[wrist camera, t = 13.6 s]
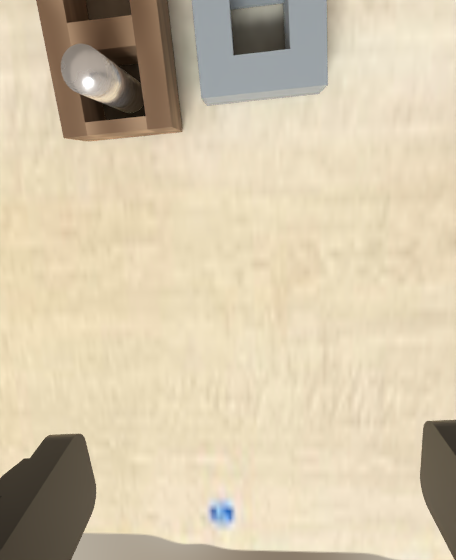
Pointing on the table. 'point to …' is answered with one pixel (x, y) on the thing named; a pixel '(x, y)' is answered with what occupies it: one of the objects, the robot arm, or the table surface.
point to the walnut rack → (122, 51)
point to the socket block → (261, 53)
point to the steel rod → (100, 79)
